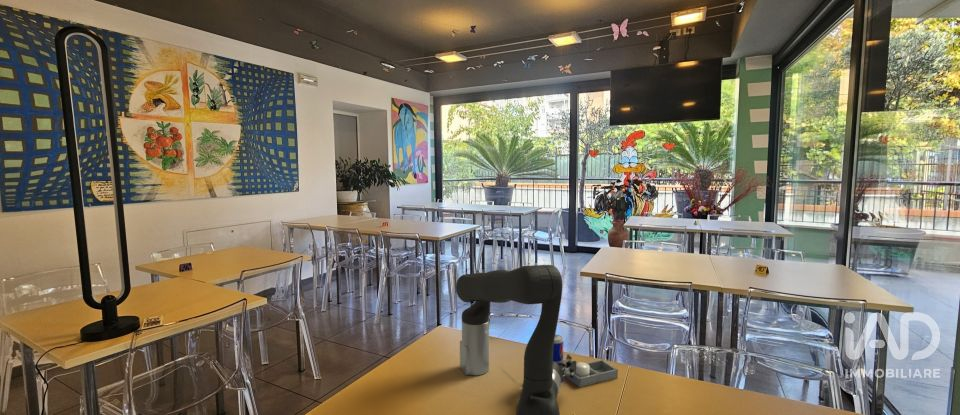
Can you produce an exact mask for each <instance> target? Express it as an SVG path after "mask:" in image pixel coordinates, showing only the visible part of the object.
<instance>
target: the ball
mask: <svg viewBox="0 0 960 415" xmlns="http://www.w3.org/2000/svg"><path fill="white" fill-rule="evenodd" d="M587 363H588V362H583V361H582V362H581V361H579V362H578V361H577V362H576V372H575V374H576V375H577V376H578V377H579V378H581V377H585V376H589V371H590V366H589V365H588V364H587Z"/></svg>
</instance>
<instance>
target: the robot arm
mask: <svg viewBox="0 0 960 415" xmlns="http://www.w3.org/2000/svg"><path fill="white" fill-rule="evenodd" d="M455 284H456V285H455V291H456V295H457V297H458V298H459V300H461V301H462V302H463V303H473V304H472V305H470V306H469V307H468V308H467V307H466V308H465V309H463V311H462V313H461V340H460V341H459V368H460V369H461V371H462V372H463V373H464V375H465V376H481V375H484V374H486V373H488V372H489V370H490V313H491V303H497V304H500V303H501V304H503V303H509V302H511V301H512V302H515V303H518V304H519V303H520V304H521V305H537V304H541V311H540V316H539V319H538V322H537V324H536V326H535V328H534V331H533V332H532V334H531V336H530V338H529V340H528V342H527V344H526V347H525V349H524V354H523V383H522V387H521V392H520V394H519V395H520V396H519V399H518V402H517V405H516V408H515V409H516V410H515V415H560V414H561V413H560V408H559V403H558V401H557V397H558V394H559V392H560V389H561V387H562V383H561V381H562V377H563V378H564V376H565V374H569V375H570V377H571V378H574V376H575V372H576V363H577V361H576V360H572V356H571V354H567V355H566V359H563V360H560V361H553V348H554V339H555V334H556V333H557V327H558V321H559V316H560V309H561V308H560V307H561V303H562V298H563V296H562V295H563V279H562V274H561V272H560V270H559V269H558V268H557V267H556V266H555V265H553V264H537V265H535V264H534V265H533V264H532V265H524V266H521V267H520V266H519V267H518V268H514V269H512V270H506V269H496V270H490V271H487V272H475V273H466V274H462V275H460V276H459V277H458V278H457V281H456V282H455Z"/></svg>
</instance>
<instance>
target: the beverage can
mask: <svg viewBox="0 0 960 415" xmlns="http://www.w3.org/2000/svg"><path fill="white" fill-rule="evenodd" d="M560 360H564V338H563V336H562V335H560V334H556V333H555V339H554V348H553V361H560ZM563 379H564V376H563V377H562V381H561V384H563Z"/></svg>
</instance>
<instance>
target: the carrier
mask: <svg viewBox="0 0 960 415" xmlns="http://www.w3.org/2000/svg"><path fill="white" fill-rule="evenodd" d="M586 363H587V364H588V365H589V366H590V371H589V376H585V377H581V378H579V377H578V376H577V375H576V374H575V376H574V378H571V377H570V375H569V374H565V375H564V377H566V378H567V379H568V380H569V381H570V382H572V383H573V384H574V385H575V386H576V387H578V388H583V387H587V386H591V385H595V384H599V383H603V382H607V381H610V380H614V379H618V375H619V369H617V368H616V367H614V366H613V365H611V364H610V363H609V362H606V361H605V360H603V359H599V360H594V361H589V362H586Z"/></svg>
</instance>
